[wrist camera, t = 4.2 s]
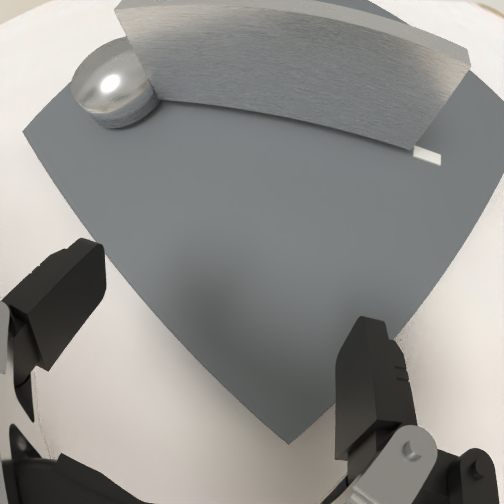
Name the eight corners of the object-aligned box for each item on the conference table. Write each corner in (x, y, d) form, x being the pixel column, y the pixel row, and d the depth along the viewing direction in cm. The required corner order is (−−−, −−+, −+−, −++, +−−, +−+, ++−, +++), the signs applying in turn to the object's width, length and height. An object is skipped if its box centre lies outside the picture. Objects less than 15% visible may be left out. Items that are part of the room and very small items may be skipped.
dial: (77, 125, 19) (12, 56, 11) (112, 63, 20) (68, -11, 12) (406, 187, 17) (478, 107, 9) (410, 108, 18) (458, 20, 10)
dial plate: (287, 435, 17) (288, 445, 15) (31, 139, 22) (21, 130, 20) (516, 132, 19) (526, 123, 18) (269, -32, 25) (269, -43, 23)
